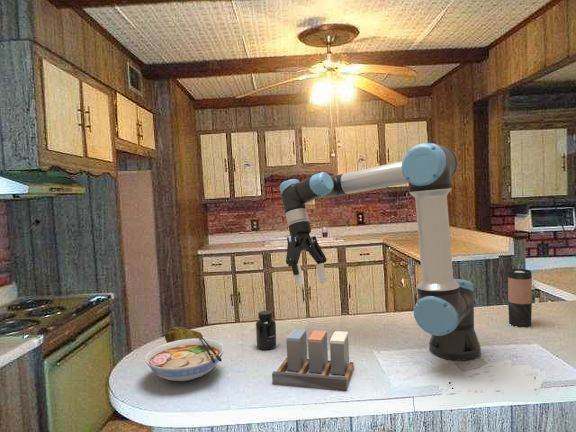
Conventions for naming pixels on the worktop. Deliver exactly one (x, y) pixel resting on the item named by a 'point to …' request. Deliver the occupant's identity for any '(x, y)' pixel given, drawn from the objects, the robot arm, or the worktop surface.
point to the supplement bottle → (266, 331)
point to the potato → (181, 334)
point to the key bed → (312, 377)
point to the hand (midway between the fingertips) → (312, 283)
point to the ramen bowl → (184, 358)
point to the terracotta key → (317, 351)
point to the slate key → (296, 349)
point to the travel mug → (519, 297)
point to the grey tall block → (339, 352)
